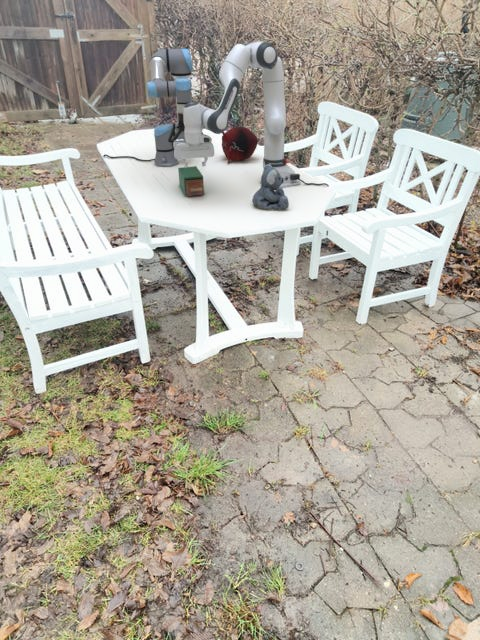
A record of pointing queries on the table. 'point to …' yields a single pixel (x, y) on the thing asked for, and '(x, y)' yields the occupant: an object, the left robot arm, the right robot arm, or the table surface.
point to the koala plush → (270, 191)
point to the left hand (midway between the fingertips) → (187, 154)
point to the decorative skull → (238, 144)
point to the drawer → (194, 187)
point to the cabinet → (188, 176)
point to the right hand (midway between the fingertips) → (195, 166)
